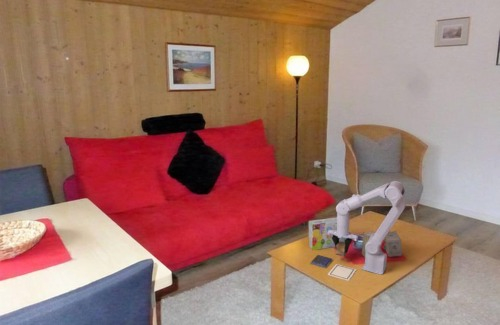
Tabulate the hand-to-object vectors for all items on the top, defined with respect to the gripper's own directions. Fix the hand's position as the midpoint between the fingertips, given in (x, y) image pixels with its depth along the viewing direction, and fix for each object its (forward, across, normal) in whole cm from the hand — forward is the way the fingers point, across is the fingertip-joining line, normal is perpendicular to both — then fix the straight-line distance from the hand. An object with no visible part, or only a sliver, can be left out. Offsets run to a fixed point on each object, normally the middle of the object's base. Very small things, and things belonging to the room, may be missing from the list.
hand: (341, 250), depth 182 cm
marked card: (+6, +4, -10) cm, 12 cm away
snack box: (+6, -12, +12) cm, 18 cm away
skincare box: (+6, +10, +13) cm, 17 cm away
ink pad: (+6, -8, -6) cm, 12 cm away
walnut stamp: (+1, 0, 0) cm, 1 cm away
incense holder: (+6, +19, +21) cm, 29 cm away
